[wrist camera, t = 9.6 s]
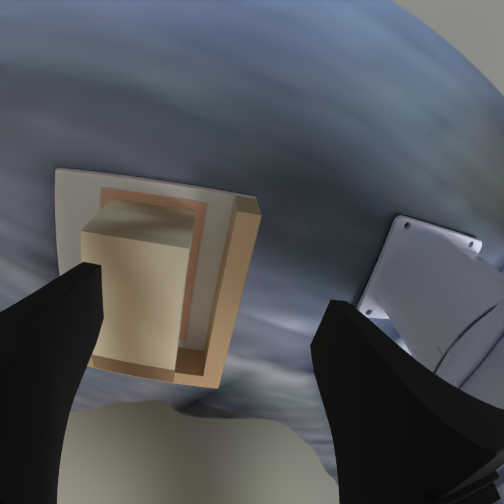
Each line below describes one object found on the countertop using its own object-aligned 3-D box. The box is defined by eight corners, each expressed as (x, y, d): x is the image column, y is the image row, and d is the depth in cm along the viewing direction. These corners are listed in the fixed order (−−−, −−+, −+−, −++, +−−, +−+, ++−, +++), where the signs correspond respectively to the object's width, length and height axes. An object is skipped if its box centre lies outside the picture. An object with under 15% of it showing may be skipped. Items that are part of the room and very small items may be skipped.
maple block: (197, 211, 17) (189, 248, 13) (180, 333, 21) (173, 382, 17) (111, 198, 16) (80, 230, 12) (111, 321, 20) (93, 367, 16)
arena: (255, 196, 18) (261, 215, 15) (217, 358, 23) (218, 388, 21) (59, 167, 16) (33, 181, 13) (70, 332, 21) (58, 358, 19)
